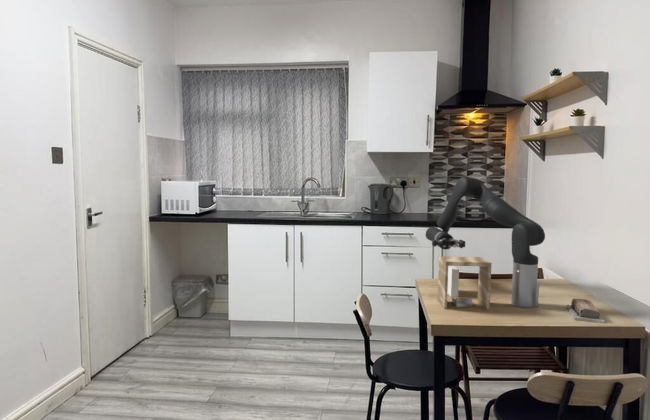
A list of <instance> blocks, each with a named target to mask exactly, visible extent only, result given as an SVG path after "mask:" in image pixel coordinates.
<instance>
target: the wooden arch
mask: <svg viewBox="0 0 650 420" xmlns="http://www.w3.org/2000/svg"><path fill="white" fill-rule="evenodd" d="M448 266H456V267H478V283H477V285H478V286H477V290H478V291H477V303H478V304H480V305H481V306H482V307H483V308H484V309H485V310H487V311H488V310H489V311H490V308H491V307H490V305H491V288H492V287H491V282H492V262H491V261H489V260H488V259H486V258H484V257H482V256H438V276H437V277H438V278H437V279H438V280H437V286H438V287H437V302H438V303H439V305H441V307H442V308H443V309H444V310H447V309H448V293H447V291H448ZM450 298H451V299H450V301H451V302H452V304H453V305H454V306H456V307H458V308H472V307H473V299H472V298H471V297H451V296H450Z"/></svg>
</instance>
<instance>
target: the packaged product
mask: <svg viewBox="0 0 650 420" xmlns="http://www.w3.org/2000/svg"><path fill="white" fill-rule="evenodd" d="M566 309H567V310H568V312H569V315H570V316H571V317H572V319H573V320H574V321H577V322H578V321H580V322H589V323H599V324H605V322H606V320H604V318H603V317H602V316H601V312H600V311H599V309H597V307H595V305H594V304H593V303H592V301H591V300H589V299H584V298H572V300H571V305H569V304H566Z"/></svg>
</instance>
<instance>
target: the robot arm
mask: <svg viewBox="0 0 650 420" xmlns="http://www.w3.org/2000/svg"><path fill="white" fill-rule="evenodd" d="M463 197H466V198H473V199H474V200H476V201H478V202H479V203H480V204H481V205H482V209H483V211H484V213H485V214H486V215H487V216H488V217H490V218H491V219H492V220H493V221H495V222H496V223H499V224H501V225H504V226H506V227H509V228H511V229H512V232H511V254H512V259H513V260H512V261H513V262H512V279H511V280H512V281H511V298H510V299H511V305H513V306H516V307H519V308H527V309H528V308H529V309H530V308H538V307H539V293H540V292H539V291H540V283H539V282H538V273H539V272H538V270H539V257H538V255H535V254H533V253H531V247H532V246H538V245H541V244H543V242H544V241H545V239H546V233H545V231H544V229H543V227H542V226H541V224H539V223H537V222H536V221H534V220H532V219H530V218H528V217H527V216H526V215H524V214H523V213H521V212H520V211H518V210H517V209H516V208H514V207H513V206H512V205H511V204H509V203H508V202H506V201H505V200H504V199H503V198H501V197H500V196H498V195H497V194H496V193H495V192H493V191H492V190H490V189H489V188H488V187H487V186H486V185H485V184H484V183H483V182H482V181H481V180H480V179H478V178H475V177H469V176H461V177H459V179H458V180H457V181H456V183H455V184H454V188H453V190H452V192H451V194H450V197H449V199H448V202H447V205H446V207H445V208H444V210H443V211H442V212H441V214H440V216H439V217H438V219H437V221H436V224H437V225H436V226H437V227H438V228H437V227H435V226H429V227H428V228H427V229H426V231H425V237H426V239H427V240H429V241H431V245H432V246H433V247H435V248H436V247H439V248H440V249H441V250H445V251H446V250H449V249H451V248H460V249H463V248H466V241H465V240H462V239H459V240H458V239H456V238H454V237H453V236H452V234H450V233H449V231H450V230H451V229H450V228H451V227H452V225H453V224H454V223H455V222H456V219H457V217H458V209H459V208H458V207H459V203H460V201H461V200H462V199H463ZM439 228H440V229H439Z"/></svg>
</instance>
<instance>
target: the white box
mask: <svg viewBox="0 0 650 420" xmlns="http://www.w3.org/2000/svg"><path fill="white" fill-rule="evenodd" d="M459 280H460V268H458V266H448V291H447V295H449V296H450V298H451V297H454V298H459V283H460V281H459Z"/></svg>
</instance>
